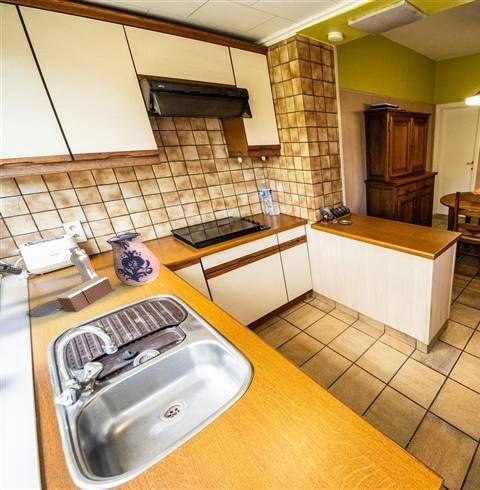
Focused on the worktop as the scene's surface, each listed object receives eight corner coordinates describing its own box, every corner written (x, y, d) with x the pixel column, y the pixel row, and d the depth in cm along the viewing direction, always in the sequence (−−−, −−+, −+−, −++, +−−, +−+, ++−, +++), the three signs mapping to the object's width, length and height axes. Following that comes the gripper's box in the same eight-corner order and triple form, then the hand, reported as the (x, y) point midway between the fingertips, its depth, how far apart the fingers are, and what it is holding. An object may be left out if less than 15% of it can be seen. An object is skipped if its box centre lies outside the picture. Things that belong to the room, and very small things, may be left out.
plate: (26, 321, 111) (25, 319, 110) (35, 307, 120) (33, 305, 120) (70, 308, 118) (69, 306, 118) (75, 296, 127) (74, 294, 127)
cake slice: (77, 312, 115) (68, 296, 112) (65, 311, 116) (55, 296, 113) (89, 305, 120) (80, 290, 116) (77, 304, 120) (68, 290, 117)
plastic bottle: (93, 285, 136) (74, 250, 128) (80, 286, 136) (60, 251, 128) (105, 279, 142) (87, 245, 134) (92, 279, 142) (74, 245, 134)
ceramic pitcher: (122, 295, 126) (98, 247, 116) (122, 279, 141) (101, 235, 131) (166, 281, 136) (148, 236, 126) (162, 267, 151) (145, 226, 141)
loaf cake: (90, 304, 120) (81, 289, 117) (78, 304, 121) (69, 289, 117) (113, 290, 130) (106, 276, 127) (102, 290, 131) (95, 276, 127)
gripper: (-34, 247, 83) (32, 262, 98) (-71, 247, 84) (-1, 262, 99) (-48, 270, 80) (22, 282, 95) (-86, 270, 82) (-11, 282, 97)
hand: (10, 272), depth 97 cm, fingers open, 8 cm apart
